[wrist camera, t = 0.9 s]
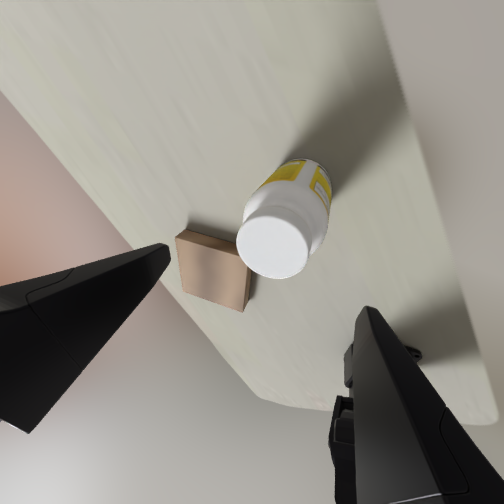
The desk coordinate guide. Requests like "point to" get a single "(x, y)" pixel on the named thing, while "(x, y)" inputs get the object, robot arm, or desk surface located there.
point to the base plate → (213, 270)
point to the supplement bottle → (286, 219)
